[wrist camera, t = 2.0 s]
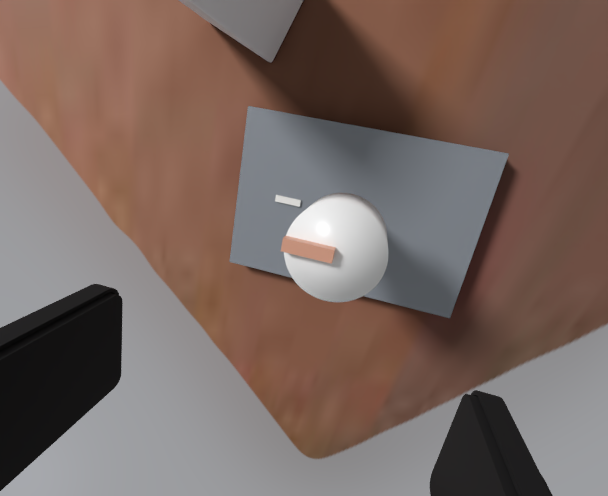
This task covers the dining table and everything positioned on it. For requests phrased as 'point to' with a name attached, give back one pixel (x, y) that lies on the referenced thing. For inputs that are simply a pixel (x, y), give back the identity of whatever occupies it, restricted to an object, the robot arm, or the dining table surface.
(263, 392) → the dining table surface
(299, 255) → the white rounded lump
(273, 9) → the milk carton
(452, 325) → the dining table surface
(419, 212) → the post stand
